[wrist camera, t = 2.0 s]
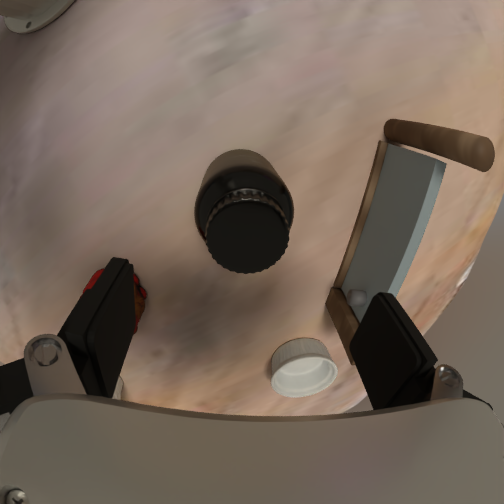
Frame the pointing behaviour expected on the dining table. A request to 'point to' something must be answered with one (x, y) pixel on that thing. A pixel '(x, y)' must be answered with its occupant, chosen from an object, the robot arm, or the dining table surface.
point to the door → (393, 226)
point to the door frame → (404, 132)
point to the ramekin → (302, 368)
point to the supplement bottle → (244, 212)
